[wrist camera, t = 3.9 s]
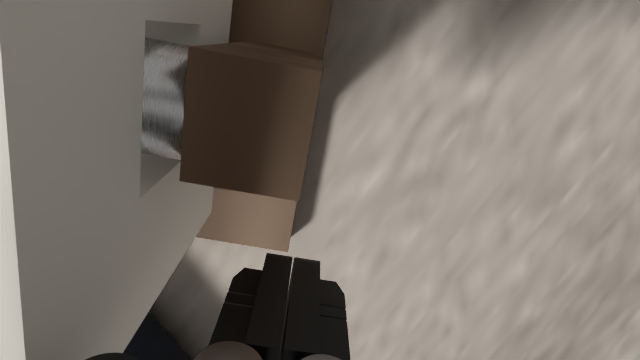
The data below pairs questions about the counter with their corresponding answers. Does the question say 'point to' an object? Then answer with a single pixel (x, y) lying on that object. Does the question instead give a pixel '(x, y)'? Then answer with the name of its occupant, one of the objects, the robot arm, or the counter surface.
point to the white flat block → (88, 172)
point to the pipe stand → (254, 118)
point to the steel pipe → (163, 98)
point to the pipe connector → (153, 343)
